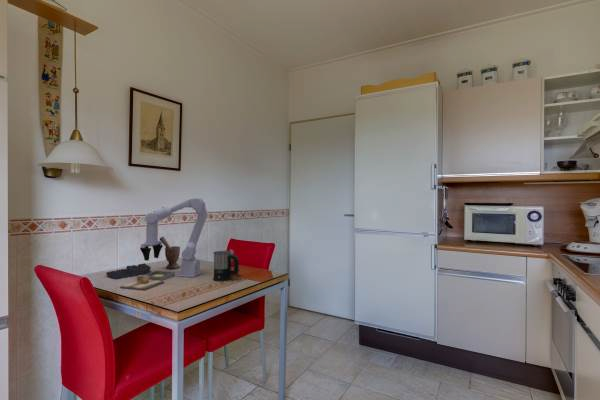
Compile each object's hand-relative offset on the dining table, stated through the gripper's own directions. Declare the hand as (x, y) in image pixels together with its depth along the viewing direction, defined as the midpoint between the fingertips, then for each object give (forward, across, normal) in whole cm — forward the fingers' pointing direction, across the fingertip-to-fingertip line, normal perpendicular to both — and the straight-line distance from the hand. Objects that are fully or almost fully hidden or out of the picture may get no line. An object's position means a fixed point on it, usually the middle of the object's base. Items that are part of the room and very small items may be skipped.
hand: (151, 259), depth 171 cm
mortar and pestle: (+10, -19, -2) cm, 21 cm away
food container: (+10, -36, +28) cm, 47 cm away
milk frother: (+10, -10, +41) cm, 43 cm away
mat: (+9, +17, +9) cm, 21 cm away
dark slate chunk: (+10, -1, -15) cm, 18 cm away
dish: (+9, +2, +6) cm, 11 cm away
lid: (+9, +17, +9) cm, 21 cm away
